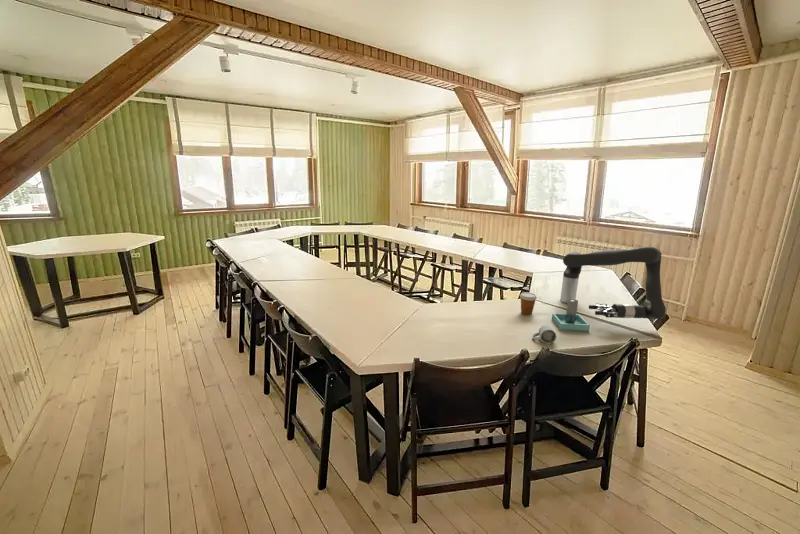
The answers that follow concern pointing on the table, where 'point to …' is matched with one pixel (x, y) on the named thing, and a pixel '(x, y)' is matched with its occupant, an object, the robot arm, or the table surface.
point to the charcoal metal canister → (571, 311)
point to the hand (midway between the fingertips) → (592, 309)
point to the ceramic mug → (545, 334)
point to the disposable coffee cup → (527, 303)
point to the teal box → (578, 326)
